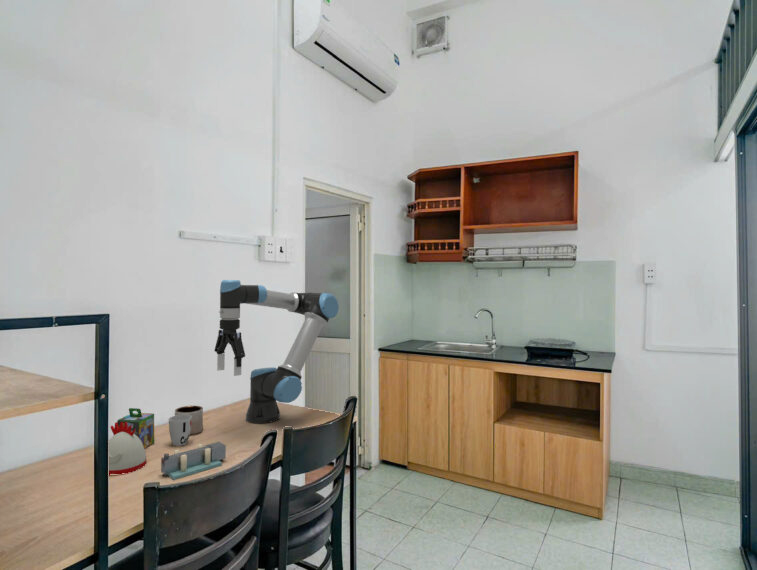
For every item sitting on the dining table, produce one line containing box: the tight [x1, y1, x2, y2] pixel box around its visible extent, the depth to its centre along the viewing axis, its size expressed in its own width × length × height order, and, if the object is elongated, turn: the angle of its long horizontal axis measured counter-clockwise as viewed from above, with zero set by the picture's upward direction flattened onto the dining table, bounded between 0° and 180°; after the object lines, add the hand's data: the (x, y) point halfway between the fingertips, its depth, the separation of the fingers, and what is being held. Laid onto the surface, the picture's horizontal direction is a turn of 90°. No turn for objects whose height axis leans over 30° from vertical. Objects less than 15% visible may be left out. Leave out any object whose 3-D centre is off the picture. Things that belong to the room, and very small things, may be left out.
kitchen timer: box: [108, 421, 147, 476], centre depth 147 cm, size 14×14×15 cm
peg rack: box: [166, 443, 223, 481], centre depth 147 cm, size 16×10×6 cm, turn 136°
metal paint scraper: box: [160, 441, 227, 475], centre depth 148 cm, size 20×5×6 cm, turn 136°
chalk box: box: [116, 407, 155, 449], centre depth 165 cm, size 9×9×15 cm
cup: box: [168, 415, 192, 447], centre depth 169 cm, size 8×8×10 cm
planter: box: [174, 405, 204, 437], centre depth 182 cm, size 11×11×10 cm
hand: (228, 372), depth 173 cm, fingers open, 13 cm apart
